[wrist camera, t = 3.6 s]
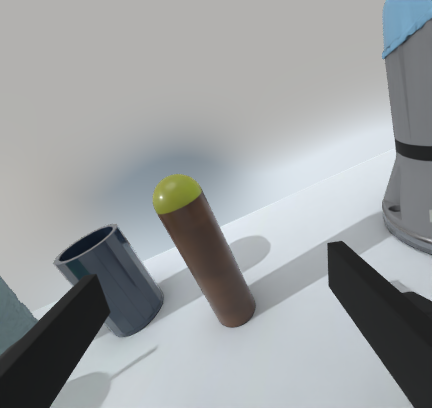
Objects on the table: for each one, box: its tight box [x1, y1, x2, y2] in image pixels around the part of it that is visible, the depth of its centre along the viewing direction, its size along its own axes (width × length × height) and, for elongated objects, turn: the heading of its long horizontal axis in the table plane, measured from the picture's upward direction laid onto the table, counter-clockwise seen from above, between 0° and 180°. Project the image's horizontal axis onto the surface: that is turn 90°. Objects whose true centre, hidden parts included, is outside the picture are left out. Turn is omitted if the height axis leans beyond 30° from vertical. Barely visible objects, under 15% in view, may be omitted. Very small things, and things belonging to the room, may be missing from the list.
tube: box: [53, 224, 163, 337], centre depth 29 cm, size 8×8×12 cm
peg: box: [153, 174, 255, 327], centre depth 22 cm, size 4×4×16 cm
